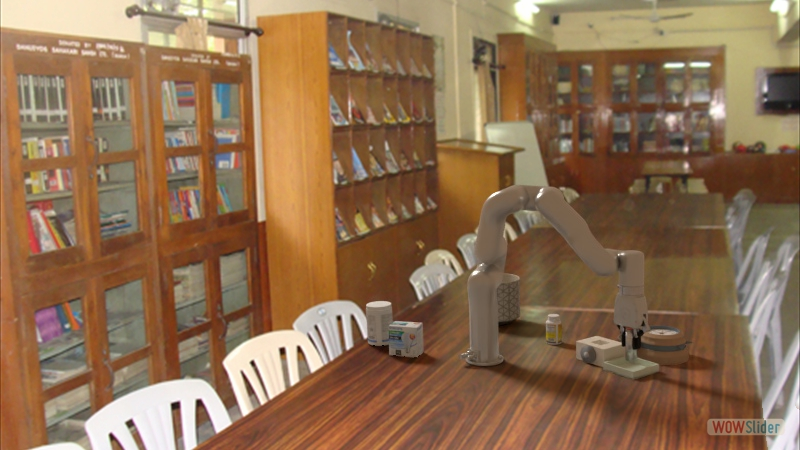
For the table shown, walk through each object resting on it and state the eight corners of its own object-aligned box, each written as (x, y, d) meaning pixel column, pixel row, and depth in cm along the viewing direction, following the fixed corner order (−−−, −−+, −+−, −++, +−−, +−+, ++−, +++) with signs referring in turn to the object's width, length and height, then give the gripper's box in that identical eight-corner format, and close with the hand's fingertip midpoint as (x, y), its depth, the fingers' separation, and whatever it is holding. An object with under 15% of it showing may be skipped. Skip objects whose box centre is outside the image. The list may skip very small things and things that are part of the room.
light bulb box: (388, 355, 270) (387, 325, 269) (395, 350, 276) (394, 320, 275) (417, 358, 266) (417, 327, 265) (424, 352, 273) (423, 322, 271)
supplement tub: (393, 338, 290) (392, 300, 288) (394, 346, 281) (392, 306, 279) (367, 339, 290) (365, 301, 288) (367, 347, 281) (365, 307, 279)
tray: (633, 379, 238) (633, 372, 238) (603, 370, 248) (603, 362, 247) (658, 371, 244) (659, 364, 244) (628, 362, 254) (628, 355, 254)
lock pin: (632, 362, 243) (632, 328, 242) (622, 359, 246) (622, 325, 245) (639, 359, 245) (639, 325, 244) (630, 357, 248) (630, 323, 247)
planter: (497, 332, 294) (497, 285, 292) (461, 323, 309) (460, 278, 306) (530, 322, 307) (529, 277, 304) (494, 314, 321) (493, 271, 318)
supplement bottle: (559, 340, 281) (559, 312, 280) (563, 344, 276) (563, 316, 274) (544, 341, 281) (543, 313, 279) (548, 345, 275) (548, 317, 274)
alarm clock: (680, 340, 246) (609, 330, 260) (680, 368, 247) (609, 357, 261) (695, 327, 260) (627, 318, 273) (695, 354, 261) (627, 344, 274)
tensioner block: (599, 368, 249) (600, 350, 248) (572, 359, 259) (572, 342, 258) (624, 361, 256) (625, 343, 255) (597, 352, 266) (597, 335, 265)
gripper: (602, 287, 247) (602, 343, 250) (645, 296, 234) (644, 355, 236) (618, 284, 251) (618, 339, 254) (661, 292, 238) (660, 351, 240)
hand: (631, 346), depth 245 cm, fingers closed on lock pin, 3 cm apart
